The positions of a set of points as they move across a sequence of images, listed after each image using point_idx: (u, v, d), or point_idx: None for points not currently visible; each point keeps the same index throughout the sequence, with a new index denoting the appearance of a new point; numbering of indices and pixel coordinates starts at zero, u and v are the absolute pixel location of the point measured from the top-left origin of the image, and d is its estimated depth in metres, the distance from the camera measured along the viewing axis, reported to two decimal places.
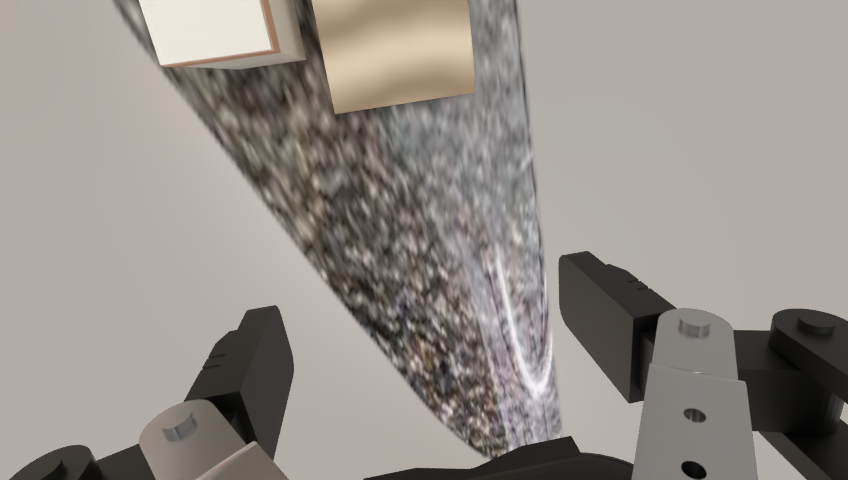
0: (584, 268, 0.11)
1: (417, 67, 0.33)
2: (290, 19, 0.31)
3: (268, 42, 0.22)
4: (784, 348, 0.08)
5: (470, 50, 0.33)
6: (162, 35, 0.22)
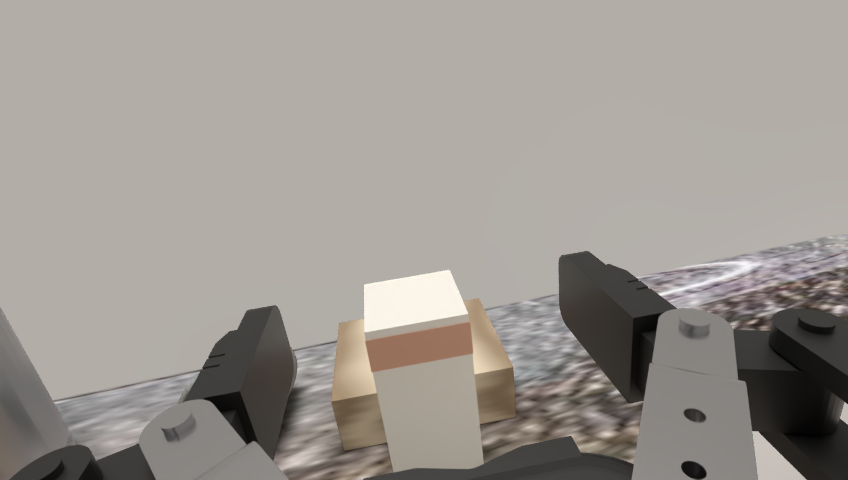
0: (584, 268, 0.11)
1: None
2: None
3: None
4: (784, 348, 0.08)
5: None
6: (442, 312, 0.23)
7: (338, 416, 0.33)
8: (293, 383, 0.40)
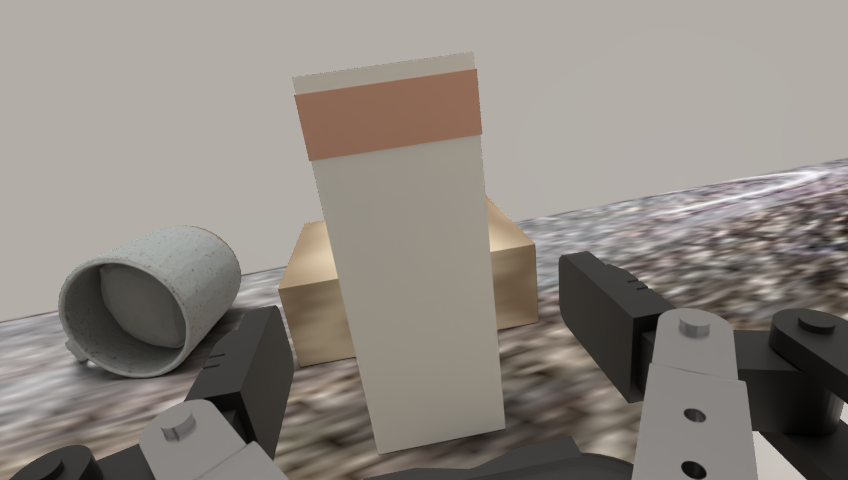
0: (584, 268, 0.11)
1: None
2: None
3: None
4: (784, 348, 0.08)
5: None
6: None
7: (289, 313, 0.24)
8: (232, 293, 0.30)
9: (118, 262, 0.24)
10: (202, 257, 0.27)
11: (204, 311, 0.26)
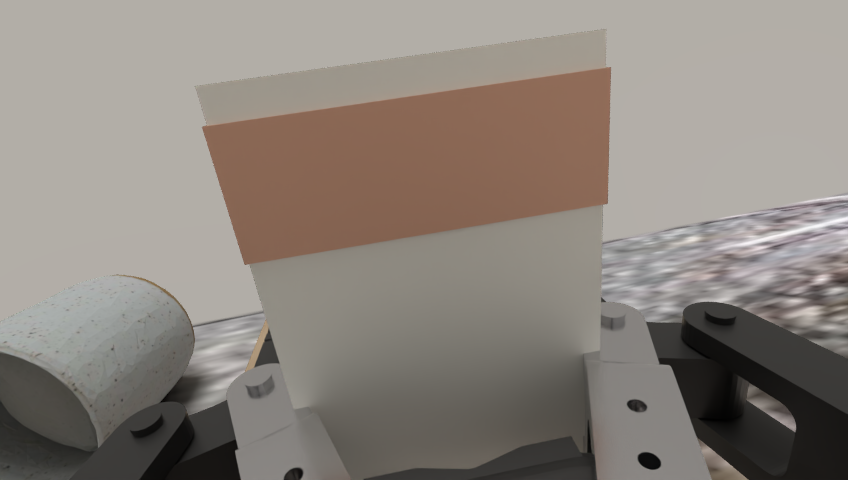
0: None
1: None
2: None
3: None
4: (698, 342, 0.08)
5: None
6: None
7: None
8: (180, 365, 0.23)
9: None
10: (131, 325, 0.20)
11: (129, 405, 0.19)
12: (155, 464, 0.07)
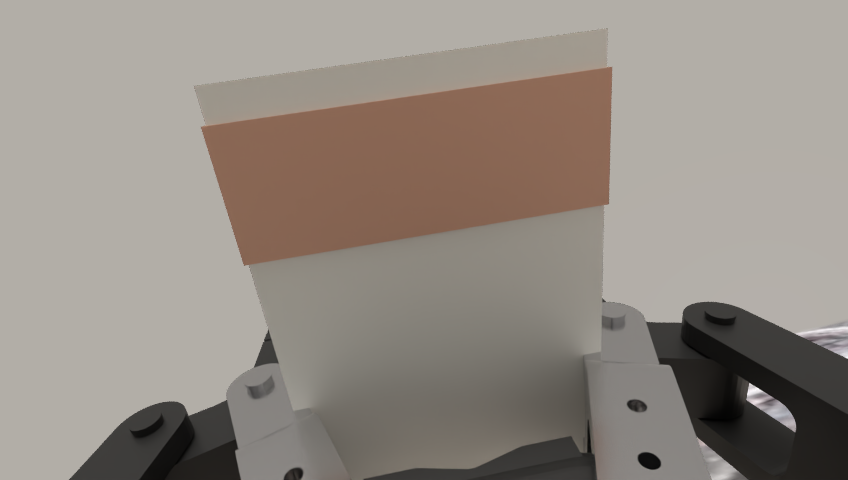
0: None
1: None
2: None
3: None
4: (698, 342, 0.08)
5: None
6: None
7: None
8: None
9: None
10: None
11: None
12: (156, 464, 0.07)
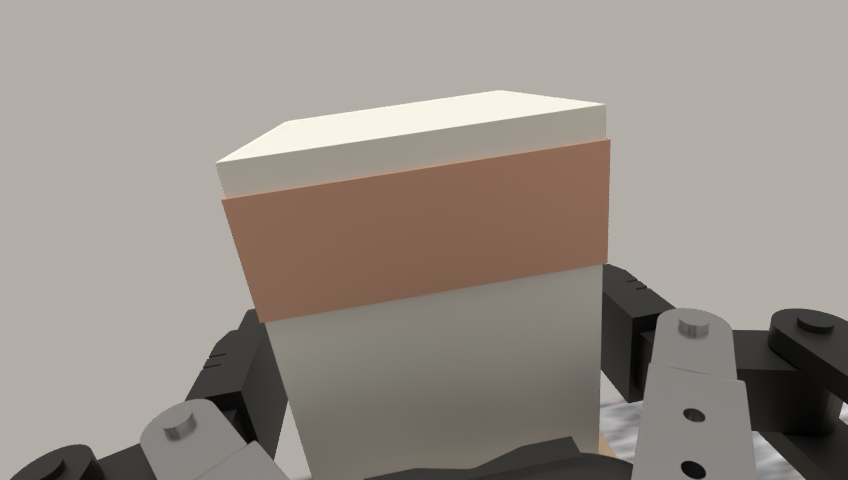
0: None
1: None
2: None
3: None
4: (783, 348, 0.08)
5: None
6: (507, 114, 0.07)
7: None
8: None
9: None
10: None
11: None
12: None
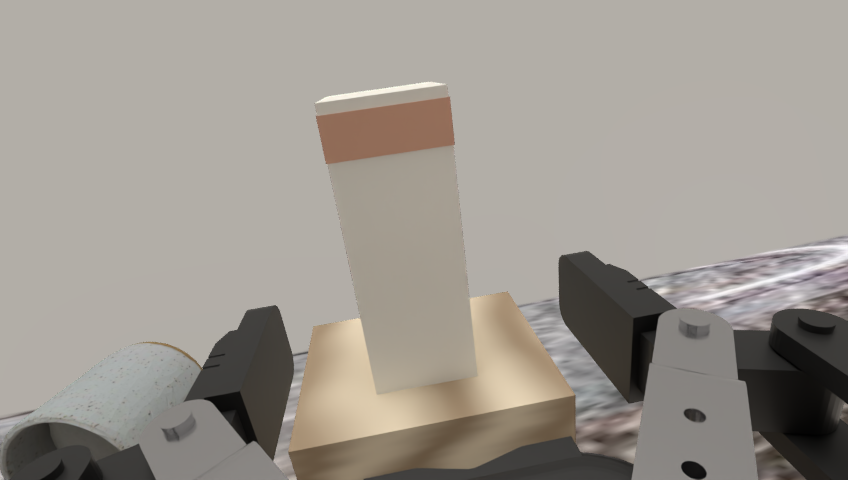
0: (584, 268, 0.11)
1: (491, 329, 0.28)
2: None
3: None
4: (784, 348, 0.08)
5: None
6: (415, 88, 0.19)
7: (301, 474, 0.21)
8: None
9: (62, 422, 0.21)
10: (162, 391, 0.25)
11: None
12: None
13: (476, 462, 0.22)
